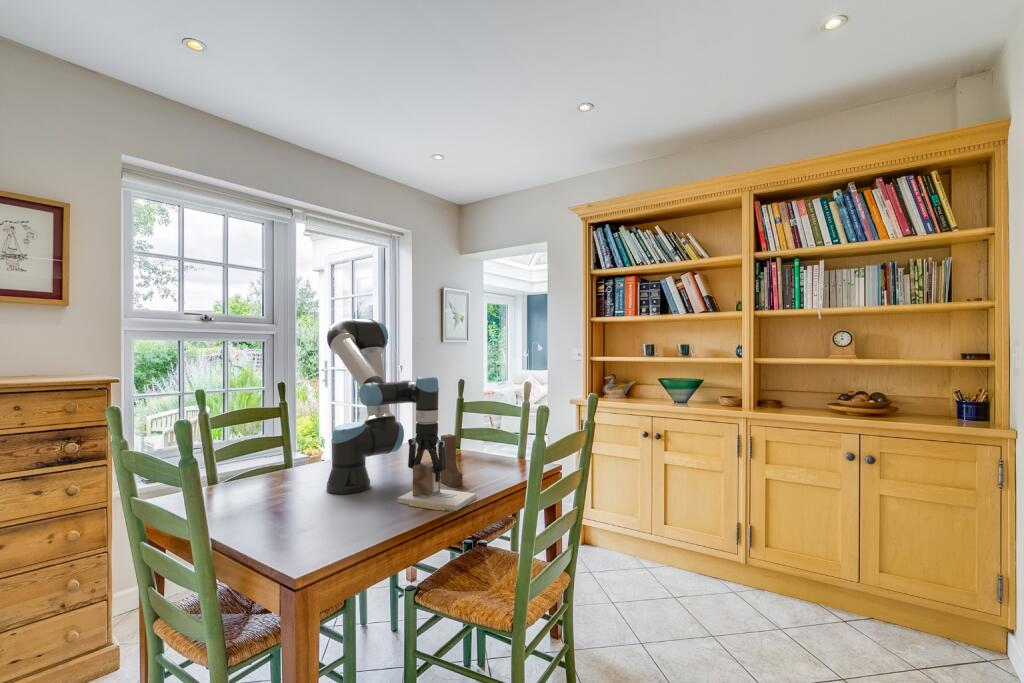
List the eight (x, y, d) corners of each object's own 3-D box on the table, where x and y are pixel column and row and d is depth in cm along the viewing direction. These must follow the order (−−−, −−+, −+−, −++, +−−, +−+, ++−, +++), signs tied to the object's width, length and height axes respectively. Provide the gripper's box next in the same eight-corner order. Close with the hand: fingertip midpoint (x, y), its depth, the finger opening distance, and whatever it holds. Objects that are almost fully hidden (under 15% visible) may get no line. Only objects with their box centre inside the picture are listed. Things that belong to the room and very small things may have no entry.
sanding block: (412, 496, 164) (412, 466, 164) (425, 489, 171) (425, 461, 171) (428, 498, 162) (428, 468, 162) (440, 491, 169) (440, 462, 169)
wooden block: (462, 485, 182) (463, 437, 182) (452, 487, 179) (452, 438, 179) (450, 480, 189) (450, 434, 189) (440, 482, 186) (440, 435, 187)
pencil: (408, 506, 158) (408, 503, 158) (409, 505, 159) (409, 503, 159) (448, 512, 153) (448, 509, 153) (449, 511, 154) (449, 508, 154)
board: (397, 502, 162) (397, 497, 162) (420, 491, 175) (420, 486, 175) (456, 510, 154) (456, 505, 154) (475, 498, 167) (475, 493, 167)
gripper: (397, 422, 166) (396, 490, 166) (446, 425, 160) (445, 496, 159) (409, 419, 173) (408, 484, 173) (457, 422, 167) (456, 490, 166)
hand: (426, 489), depth 166 cm, fingers closed on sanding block, 6 cm apart
